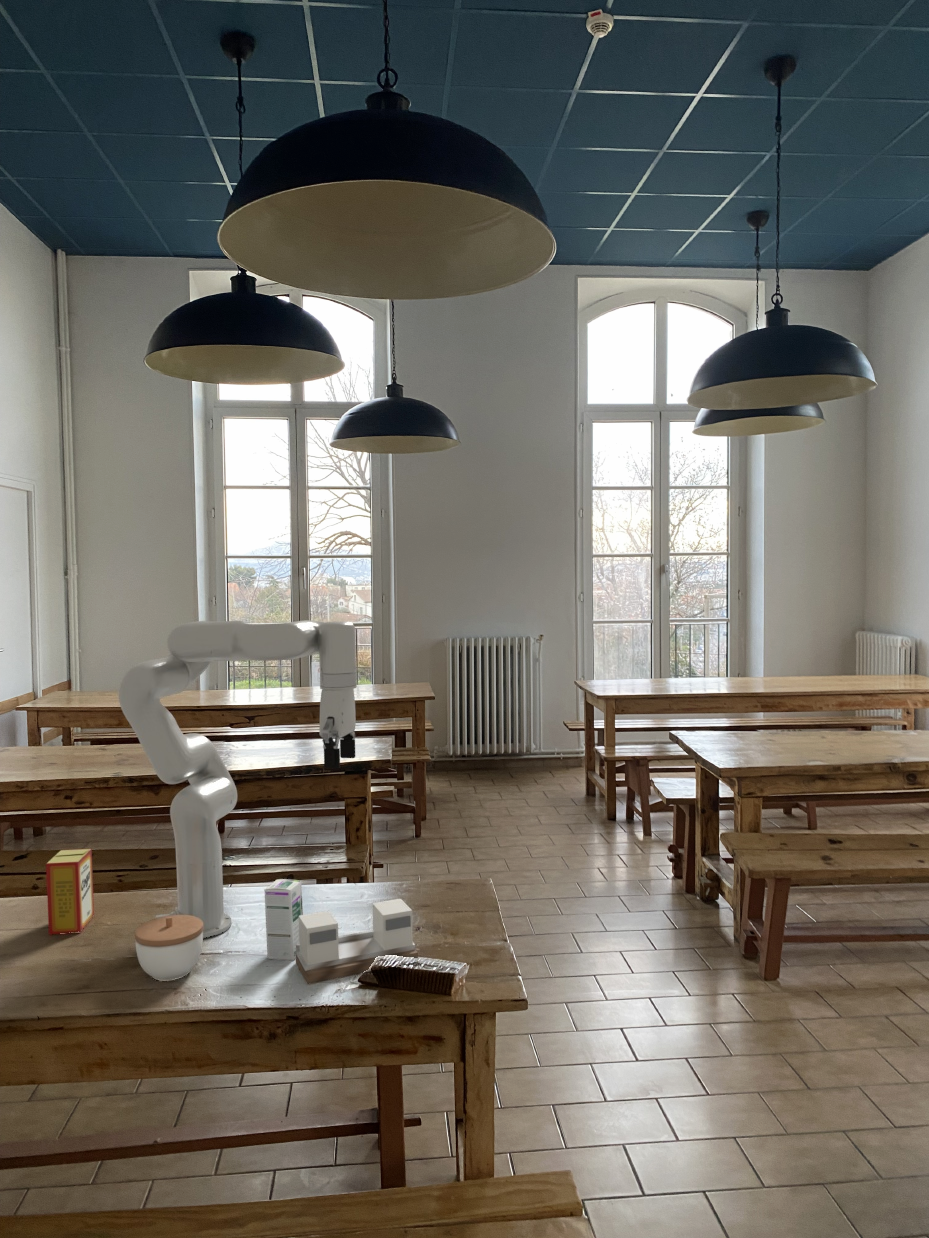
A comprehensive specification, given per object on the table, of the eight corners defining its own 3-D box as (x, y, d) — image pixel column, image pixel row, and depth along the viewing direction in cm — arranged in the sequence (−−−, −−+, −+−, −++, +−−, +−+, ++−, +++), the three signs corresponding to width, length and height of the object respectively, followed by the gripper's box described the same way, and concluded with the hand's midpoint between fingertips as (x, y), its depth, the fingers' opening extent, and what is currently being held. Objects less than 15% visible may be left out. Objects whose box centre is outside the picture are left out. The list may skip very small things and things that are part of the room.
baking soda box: (80, 933, 191) (77, 860, 190) (49, 935, 190) (45, 861, 189) (94, 916, 200) (91, 846, 199) (64, 918, 199) (61, 848, 199)
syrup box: (293, 961, 175) (291, 889, 174) (266, 959, 176) (263, 887, 175) (304, 949, 181) (302, 879, 180) (277, 947, 182) (275, 877, 181)
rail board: (307, 984, 165) (306, 963, 165) (295, 962, 174) (295, 943, 174) (418, 962, 174) (417, 942, 173) (401, 942, 183) (401, 924, 183)
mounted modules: (308, 965, 166) (307, 929, 166) (299, 950, 173) (298, 915, 173) (413, 945, 174) (412, 910, 174) (401, 931, 181) (400, 898, 181)
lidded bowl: (135, 965, 174) (133, 910, 174) (202, 954, 179) (200, 901, 178) (136, 993, 163) (134, 934, 162) (207, 981, 167) (205, 923, 167)
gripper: (335, 675, 192) (337, 753, 193) (305, 686, 175) (307, 771, 176) (368, 676, 191) (370, 754, 192) (341, 686, 174) (343, 772, 175)
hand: (340, 762), depth 184 cm, fingers open, 9 cm apart
